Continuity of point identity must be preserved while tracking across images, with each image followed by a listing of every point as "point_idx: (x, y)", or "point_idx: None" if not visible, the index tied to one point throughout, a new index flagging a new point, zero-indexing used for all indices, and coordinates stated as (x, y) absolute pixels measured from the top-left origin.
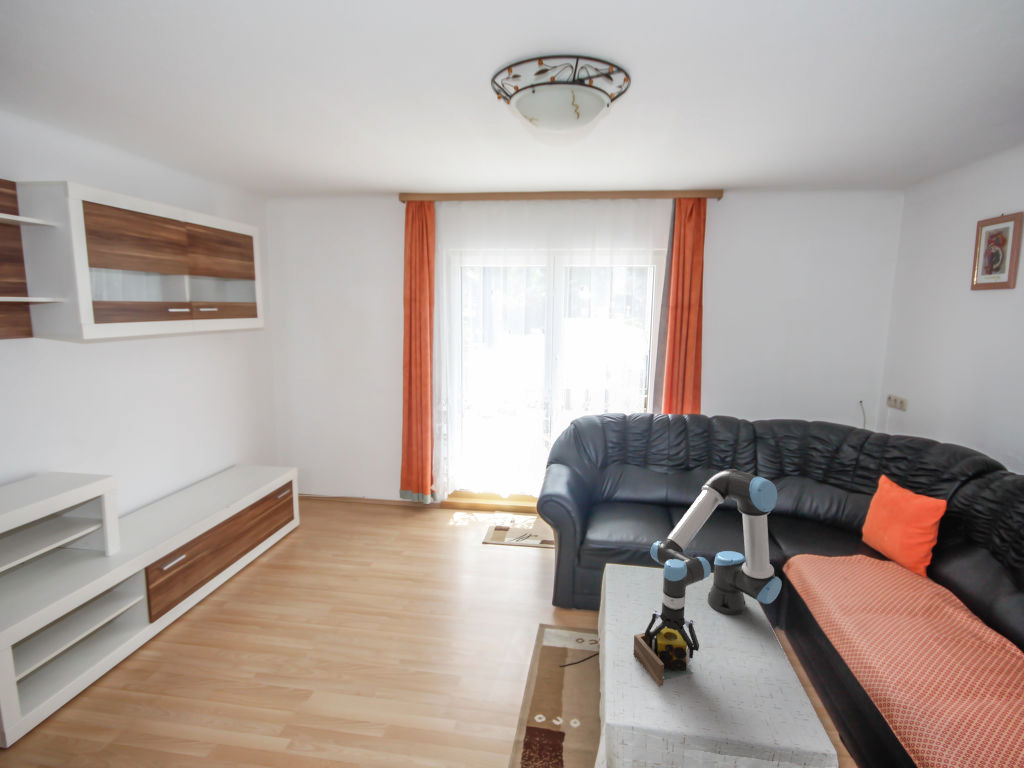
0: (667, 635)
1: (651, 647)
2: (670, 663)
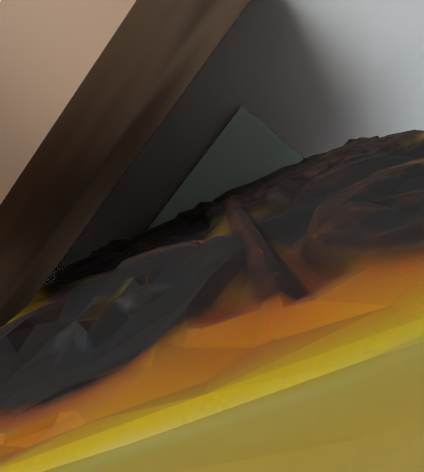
0: None
1: (43, 264)
2: None
